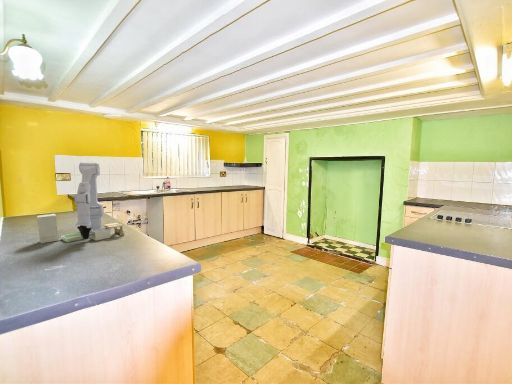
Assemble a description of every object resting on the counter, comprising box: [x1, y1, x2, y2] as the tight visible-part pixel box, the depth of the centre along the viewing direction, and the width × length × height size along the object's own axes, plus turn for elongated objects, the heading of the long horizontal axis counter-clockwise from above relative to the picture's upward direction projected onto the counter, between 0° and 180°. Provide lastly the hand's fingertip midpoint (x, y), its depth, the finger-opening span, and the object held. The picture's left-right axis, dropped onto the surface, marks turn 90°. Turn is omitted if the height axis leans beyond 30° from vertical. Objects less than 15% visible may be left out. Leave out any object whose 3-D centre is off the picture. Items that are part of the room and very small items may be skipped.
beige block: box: [103, 222, 125, 237], centre depth 156 cm, size 9×8×7 cm
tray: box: [60, 231, 92, 243], centre depth 150 cm, size 10×12×2 cm
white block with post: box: [82, 227, 112, 241], centre depth 148 cm, size 6×14×5 cm, turn 142°
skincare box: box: [36, 213, 60, 244], centre depth 144 cm, size 8×6×15 cm
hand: (85, 238), depth 144 cm, fingers closed on white block with post
